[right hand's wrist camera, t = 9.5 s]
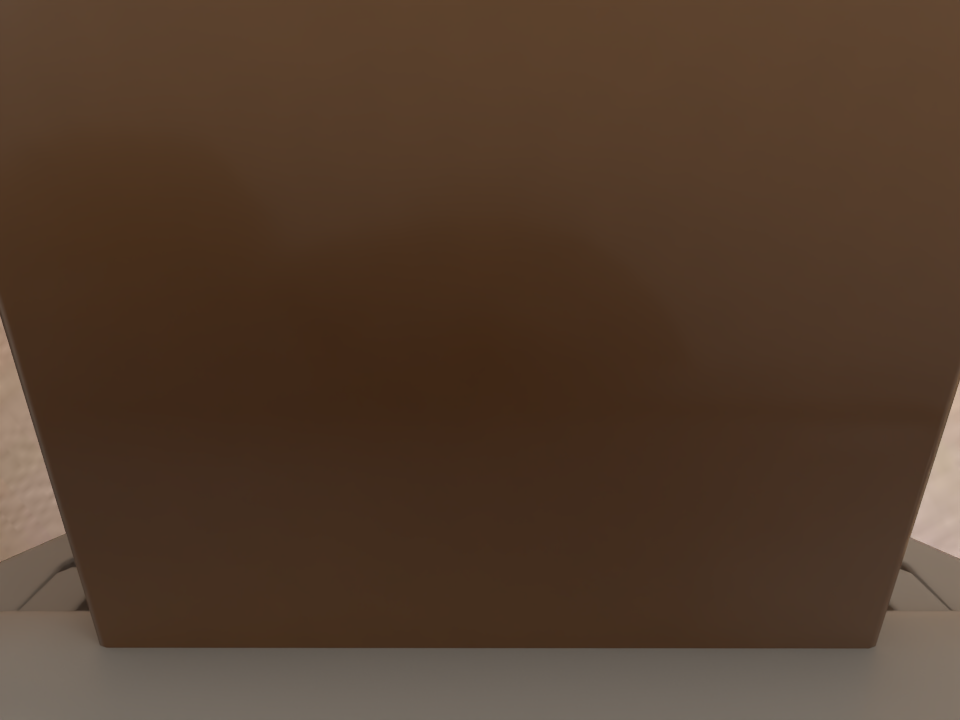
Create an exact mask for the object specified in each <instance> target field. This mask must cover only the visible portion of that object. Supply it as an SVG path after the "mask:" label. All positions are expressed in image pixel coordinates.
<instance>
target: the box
mask: <svg viewBox="0 0 960 720" xmlns="http://www.w3.org/2000/svg"><path fill="white" fill-rule="evenodd" d="M0 316H1V319H2V322H3V326H4V329H5V332H6V336H7V339H8V342H9V346H10V349H11V352H12V356H13V359H14V362H15V366H16V369H17V372H18V375H19V379H20V382H21V385H22V389H23V392H24V395H25V399H26V402H27V405H28V409H29V412H30V415H31V419H32V422H33V425H34V428H35V432H36V435H37V438H38V442H39V445H40V448H41V452H42V455H43V458H44V462H45V465H46V468H47V471H48V475H49V478H50V481H51V485H52V488H53V491H54V495H55V498H56V501H57V505H58V508H59V511H60V515H61V518H62V521H63V524H64V528H65V531H66V534H67V538H68V541H69V544H70V548H71V551H72V554H73V558H74V561H75V564H76V567H77V571H78V574H79V577H80V581H81V584H82V587H83V591H84V594H85V597H86V601H87V604H88V607H89V611H90V614H91V617H92V620H93V624H94V627H95V630H96V634H97V637H98V640H99V644H100V645H101V646H103V647H106V648H821V649H869V648H872V647H874V646H876V643H877V640H878V637H879V634H880V630H881V627H882V624H883V621H884V618H885V615H886V612H887V608H888V605H889V602H890V599H891V596H892V593H893V589H894V586H895V583H896V580H897V577H898V574H899V570H900V567H901V564H902V561H903V558H904V555H905V551H906V548H907V545H908V542H909V539H910V536H911V533H912V529H913V526H914V523H915V520H916V517H917V514H918V510H919V507H920V504H921V501H922V498H923V495H924V491H925V488H926V485H927V482H928V479H929V476H930V472H931V469H932V466H933V463H934V460H935V457H936V454H937V450H938V447H939V444H940V441H941V438H942V435H943V431H944V428H945V425H946V422H947V419H948V416H949V412H950V409H951V406H952V403H953V400H954V397H955V394H956V390H957V387H958V384H959V381H960V0H0Z"/></svg>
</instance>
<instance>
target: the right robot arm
mask: <svg viewBox="0 0 960 720" xmlns="http://www.w3.org/2000/svg"><path fill="white" fill-rule="evenodd" d="M0 720H960V559H959V558H957V557H954V556H952V555H950V554H947V553H945V552H943V551H940V550H938V549H936V548H933V547H931V546H929V545H927V544H924V543H922V542H920V541H917V540H915V539H913V538H910V539H909V542H908V545H907V548H906V551H905V555H904V558H903V561H902V564H901V567H900V570H899V574H898V577H897V580H896V583H895V586H894V589H893V593H892V596H891V599H890V602H889V605H888V608H887V612H886V615H885V618H884V621H883V624H882V627H881V630H880V634H879V637H878V640H877V643H876V646H874V647H872V648H869V649H821V648H106V647H103V646H101V645H100V644H99V640H98V637H97V634H96V630H95V627H94V624H93V620H92V617H91V614H90V611H89V607H88V604H87V601H86V597H85V594H84V591H83V587H82V584H81V581H80V577H79V574H78V571H77V567H76V564H75V561H74V558H73V554H72V551H71V548H70V544H69V541H68V538H67V534H64V535H61V536H59V537H57V538H55V539H52V540H50V541H48V542H45V543H43V544H41V545H39V546H36V547H34V548H32V549H29V550H27V551H25V552H23V553H20V554H18V555H16V556H13V557H11V558H9V559H7V560H4V561H2V562H0Z"/></svg>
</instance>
